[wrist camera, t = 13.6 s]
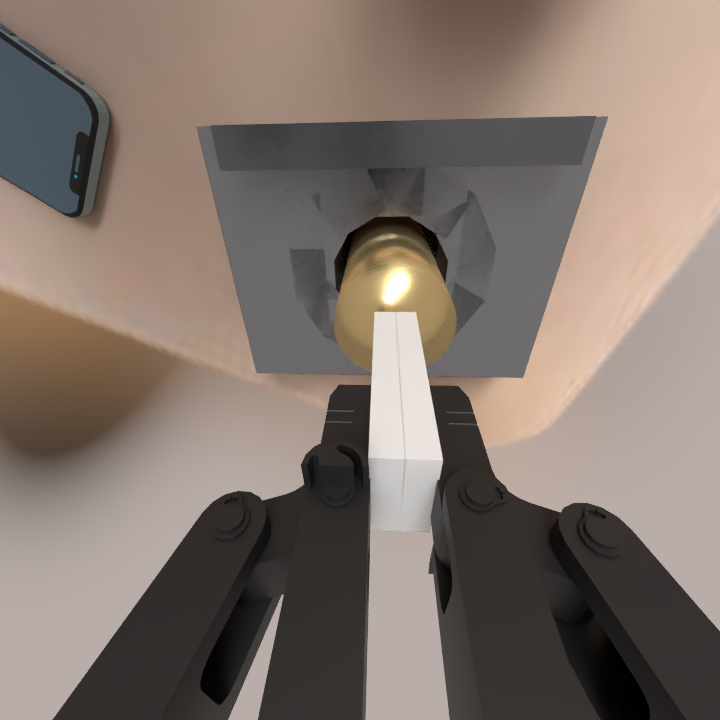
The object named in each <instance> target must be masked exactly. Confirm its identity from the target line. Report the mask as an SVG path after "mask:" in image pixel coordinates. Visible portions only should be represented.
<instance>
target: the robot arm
mask: <svg viewBox="0 0 720 720" xmlns="http://www.w3.org/2000/svg"><path fill="white" fill-rule="evenodd" d="M301 468H302V473H303V479H304V485H303V486H302V487H300V488H299V489H297V490H295V491H293V492H291V493H288V494H285V495H282V496H278V497H274V498H271V499H267V500H263V501H262V500H261V498H260V497H258V496H257V495H255V494H253V493H251V492H244V491H243V492H242V491H237V492H233V493H229V494H225V495H224V496H222V497H220V498H219V499H217V500H215V501H214V502H212V504H210V506H209V507H208V508H207V509H206V510H205V511H204V512H203V513H202V514H201V516H200V517H199V518H198V520H197V521H196V522H195V524H194V525H193V527H192V528H191V530H190V531H189V532H188V534H187V535H186V536H185V538H184V539H183V540H182V542H181V543H180V545H179V546H178V547H177V549H176V550H175V551H174V553H173V554H172V556H171V557H170V558H169V560H168V561H167V563H166V564H165V565H164V567H163V568H162V569H161V571H160V572H159V574H158V575H157V576H156V578H155V579H154V581H153V582H152V583H151V585H150V586H149V587H148V589H147V590H146V592H145V593H144V594H143V596H142V597H141V599H140V600H139V601H138V603H137V604H136V605H135V607H134V608H133V609H132V611H131V612H130V614H129V615H128V617H127V618H126V619H125V621H124V622H123V623H122V625H121V626H120V628H119V629H118V630H117V632H116V633H115V634H114V636H113V637H112V639H111V640H110V641H109V643H108V644H107V645H106V647H105V648H104V650H103V651H102V652H101V654H100V655H99V657H98V658H97V659H96V661H95V662H94V663H93V665H92V666H91V668H90V669H89V670H88V672H87V673H86V674H85V676H84V677H83V679H82V680H81V682H80V683H79V684H78V685H77V687H76V688H75V690H74V691H73V692H72V694H71V695H70V697H69V698H68V699H67V701H66V702H65V704H64V705H63V706H62V708H61V709H60V711H59V712H58V713H57V714H56V716H55V717H54V719H53V720H228V718H229V716H230V714H231V711H232V709H233V707H234V704H235V702H236V700H237V697H238V695H239V693H240V690H241V688H242V686H243V683H244V681H245V679H246V676H247V674H248V672H249V669H250V667H251V665H252V663H253V660H254V658H255V655H256V653H257V651H258V648H259V646H260V644H261V642H262V639H263V637H264V634H265V632H266V630H267V627H268V625H269V623H270V620H271V618H272V616H273V614H274V611H275V609H276V607H277V604H278V602H279V600H280V597H281V595H282V594H284V597H283V602H282V607H281V612H280V617H279V621H278V626H277V631H276V636H275V640H274V646H273V650H272V655H271V660H270V664H269V669H268V674H267V679H266V683H265V688H264V693H263V698H262V703H261V708H260V712H259V717H258V720H365V711H366V709H365V708H366V675H367V638H368V601H369V564H370V530H389V531H413V532H430V527H431V525H432V532H433V541H434V544H433V548H432V553H431V558H430V563H429V574H434V582H435V591H436V601H437V609H438V618H439V627H440V635H441V644H442V654H443V663H444V671H445V681H446V690H447V698H448V707H449V716H450V720H720V631H719V630H718V629H717V628H716V627H715V625H714V624H713V623H712V622H711V621H710V620H709V619H708V618H707V616H706V615H705V614H704V613H703V612H702V611H701V609H700V608H699V607H698V606H697V605H696V604H695V602H694V601H693V600H692V599H691V598H690V597H689V595H688V594H687V593H686V592H685V591H684V590H683V589H682V587H681V586H680V585H679V584H678V583H677V582H676V581H675V579H674V578H673V577H672V576H671V575H670V574H669V572H668V571H667V570H666V569H665V568H664V567H663V566H662V564H661V563H660V562H659V561H658V560H657V559H656V557H655V556H654V555H653V554H652V553H651V552H650V550H649V549H648V548H647V547H646V546H645V545H644V544H643V542H642V541H641V540H640V539H639V538H638V537H637V535H636V534H635V533H634V532H633V531H632V530H631V529H630V528H629V527H628V526H627V525H626V524H625V523H624V522H623V521H622V520H620V519H619V518H618V517H617V516H615V515H614V514H612V513H610V512H608V511H607V510H605V509H603V508H601V507H598V506H595V505H591V504H588V503H573V504H571V505H569V506H567V507H564V508H563V510H562V512H561V513H560V512H557V511H554V510H551V509H547V508H544V507H541V506H538V505H535V504H531V503H529V502H527V501H524V500H522V499H520V498H518V497H516V496H514V495H513V494H512V493H510V492H509V491H508V490H507V488H506V487H505V486H504V485H503V484H502V483H501V482H500V481H499V480H498V479H497V478H496V477H495V475H494V473H493V471H492V468H491V465H490V462H489V459H488V456H487V453H486V449H485V446H484V443H483V440H482V437H481V434H480V431H479V428H478V426H477V421H476V418H475V415H474V414H473V409H472V406H471V403H470V400H469V397H468V396H467V395H466V394H465V393H464V392H463V391H462V390H461V389H460V388H459V387H458V386H430V385H429V381H428V375H427V370H426V364H425V359H424V353H423V348H422V342H421V337H420V331H419V326H418V320H417V315H416V312H374V335H373V359H372V382H371V385H339V386H338V387H337V388H336V389H335V391H334V392H333V393H332V394H331V396H330V399H329V404H328V411H327V415H326V420H325V425H324V430H323V436H322V440H321V444H319V445H317V446H315V447H314V448H312V449H311V451H309V452H308V453H307V454H306V456H305V458H304V460H303V462H302V464H301Z"/></svg>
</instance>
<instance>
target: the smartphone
mask: <svg viewBox="0 0 720 720" xmlns="http://www.w3.org/2000/svg"><path fill="white" fill-rule="evenodd" d="M108 128H109V112H108V109H107V106H106V104H105V103H104V101H103V99H102V98H101V97H100V96H99V95H98V94H97V93H96V92H95V91H94V90H92V89H91V88H90V87H88V86H87V85H85V84H84V83H83V82H82V81H81V80H79V79H78V78H76V77H75V76H74V75H72V74H71V73H69V72H68V71H66V70H64V69H63V68H61V67H60V66H58V65H57V64H56V63H55V62H54V61H52V60H51V59H50V58H48V57H47V56H45V55H44V54H43V53H41V52H40V51H38V50H37V49H35V48H34V47H33V46H31V45H30V44H28V43H27V42H26V41H24V40H22V39H20V38H19V37H18V36H16V35H15V34H14V33H13V32H11V31H10V30H9V29H7V28H6V27H4V26H3V25H2V24H0V177H2V178H4V179H5V180H7V181H9V182H10V183H12V184H14V185H15V186H17V187H19V188H20V189H22V190H24V191H25V192H27V193H29V194H30V195H32V196H34V197H35V198H37V199H39V200H40V201H42V202H44V203H45V204H47V205H49V206H50V207H52V208H54V209H55V210H57V211H59V212H60V213H62V214H64V215H66V216H69V217H80V216H84V215H87V214H90V212H91V211H92V209H93V204H94V199H95V194H96V189H97V184H98V179H99V174H100V169H101V164H102V158H103V153H104V148H105V143H106V138H107V133H108Z"/></svg>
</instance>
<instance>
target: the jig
mask: <svg viewBox="0 0 720 720" xmlns="http://www.w3.org/2000/svg"><path fill="white" fill-rule="evenodd" d="M607 119H608V117H596V116H577V117H537V118H496V119H456V120H416V121H376V122H336V123H296V124H255V125H215V126H205V127H197V131H198V135H199V139H200V143H201V147H202V152H203V156H204V160H205V164H206V168H207V172H208V176H209V180H210V184H211V188H212V192H213V196H214V200H215V205H216V209H217V213H218V217H219V221H220V225H221V229H222V233H223V237H224V241H225V245H226V249H227V254H228V258H229V262H230V266H231V270H232V274H233V278H234V282H235V286H236V290H237V294H238V298H239V303H240V307H241V311H242V315H243V319H244V323H245V327H246V331H247V335H248V339H249V343H250V347H251V352H252V356H253V360H254V364H255V368H256V372H257V373H289V374H345V375H372V372H369V371H367V370H364V369H363V368H361V367H359V366H357V365H356V364H355V363H353V362H352V361H351V360H350V359H349V358H348V357H347V356H346V355H345V354H344V353H343V351H342V350H341V348H340V346H339V344H338V342H337V340H336V336H335V332H334V316H335V311H336V307H337V302H338V298H339V294H340V290H341V285H342V281H343V277H344V273H345V269H344V267H343V263H342V245H343V243H344V241H345V239H346V237H347V235H348V233H350V232H352V231H353V230H355V229H357V228H358V227H360V226H361V225H363V224H365V223H366V222H368V221H369V220H371V219H373V218H374V217H387V216H409V217H411V218H412V219H414V220H415V221H417V222H419V223H420V224H422V225H423V226H425V227H426V228H428V229H430V230H431V231H433V232H434V233H435V235H436V237H437V239H438V246H437V255H436V263H437V265H438V268H439V270H440V273H441V275H442V277H443V280H444V282H445V284H446V287H447V289H448V292H449V294H450V296H451V299H452V301H453V304H454V306H455V311H456V319H457V323H456V330H455V334H454V337H453V339H452V342H451V344H450V345H449V347H448V349H447V350H446V351H445V353H444V354H443V355H442V356H441V357H440V358H439V359H438V360H437V361H435V362H434V363H433V364H431V365H430V366H428V367H426V370H427V375H428V376H457V377H513V378H523V376H524V373H525V370H526V367H527V364H528V361H529V357H530V354H531V351H532V348H533V345H534V342H535V339H536V336H537V333H538V330H539V327H540V324H541V321H542V318H543V315H544V312H545V309H546V305H547V302H548V299H549V296H550V293H551V290H552V287H553V284H554V281H555V278H556V275H557V272H558V269H559V266H560V263H561V260H562V257H563V253H564V250H565V247H566V244H567V241H568V238H569V235H570V232H571V229H572V226H573V223H574V220H575V217H576V214H577V211H578V208H579V205H580V201H581V198H582V195H583V192H584V189H585V186H586V183H587V180H588V177H589V174H590V171H591V168H592V165H593V162H594V159H595V156H596V152H597V149H598V146H599V143H600V140H601V137H602V134H603V131H604V128H605V125H606V122H607Z"/></svg>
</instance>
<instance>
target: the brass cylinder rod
mask: <svg viewBox="0 0 720 720" xmlns="http://www.w3.org/2000/svg"><path fill="white" fill-rule="evenodd" d="M374 312H416V315H417V320H418V326H419V331H420V337H421V342H422V348H423V353H424V359H425V364H426V367H428V366H430V365H431V364H433V363H434V362H435V361H437V360H438V359H439V358H440V357H441V356H442V355H443V354H444V353H445V351H446V350H447V349H448V347H449V345H450V344H451V342H452V339H453V337H454V334H455V330H456V323H457V319H456V311H455V306H454V304H453V301H452V299H451V296H450V294H449V292H448V289H447V287H446V284H445V282H444V280H443V277H442V275H441V273H440V270H439V268H438V265H437V263H436V261H435V258H434V256H433V254H432V251H431V249H430V246H429V244H428V242H427V239H426V237H425V235H424V232H423V230H422V229H421V227H420V226H419V225H418V223H417V222H416V221H415V220H413V219H412V218H411V217H409V216H387V217H374V218H373V219H371V220H369V221H368V222H366V223H365V224H363V225H361V226H360V227H359V228H358V229H357V231H356V232H355V234H354V237H353V239H352V243H351V247H350V251H349V256H348V260H347V264H346V268H345V273H344V277H343V281H342V285H341V290H340V294H339V298H338V302H337V307H336V311H335V316H334V332H335V336H336V340H337V342H338V344H339V346H340V348H341V350H342V351H343V353H344V354H345V355H346V356H347V357H348V358H349V359H350V360H351V361H352V362H353V363H355V364H356V365H357V366H359V367H361V368H363V369H364V370H367V371H369V372H372V359H373V335H374Z"/></svg>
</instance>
